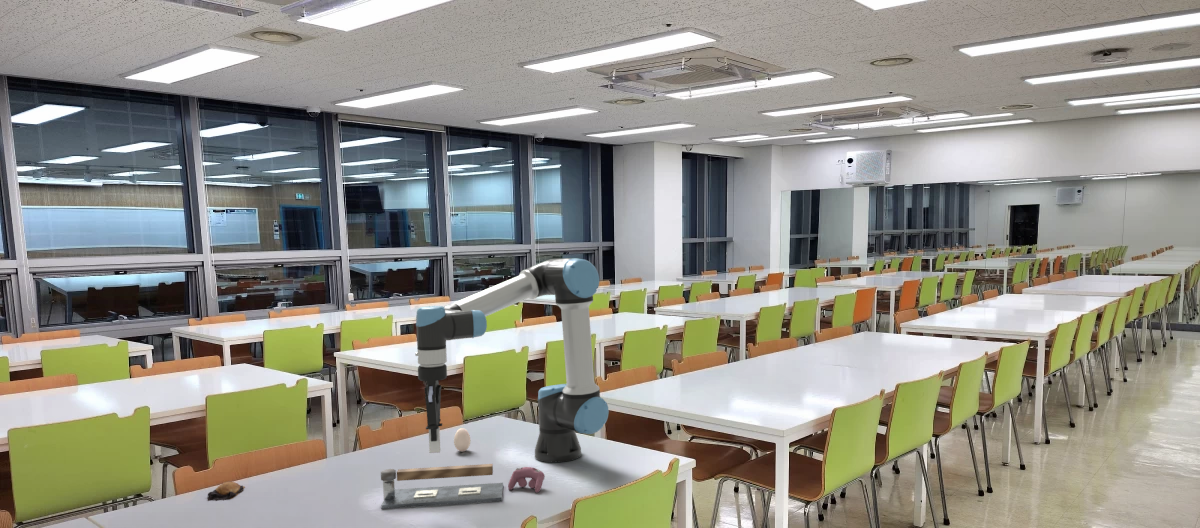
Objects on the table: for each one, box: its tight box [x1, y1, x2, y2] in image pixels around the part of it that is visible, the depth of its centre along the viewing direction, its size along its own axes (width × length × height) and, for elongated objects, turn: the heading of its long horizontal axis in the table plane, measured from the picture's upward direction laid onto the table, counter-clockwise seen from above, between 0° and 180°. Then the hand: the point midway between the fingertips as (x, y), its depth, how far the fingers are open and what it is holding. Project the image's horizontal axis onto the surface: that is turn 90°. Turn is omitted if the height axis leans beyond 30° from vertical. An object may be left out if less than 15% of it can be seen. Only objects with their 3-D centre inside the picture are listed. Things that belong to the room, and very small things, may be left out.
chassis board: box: [380, 479, 504, 510], centre depth 202 cm, size 32×12×6 cm, turn 96°
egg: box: [453, 427, 471, 453], centre depth 246 cm, size 6×6×8 cm
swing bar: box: [380, 463, 494, 482], centre depth 202 cm, size 30×4×2 cm, turn 96°
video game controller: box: [507, 466, 545, 494], centre depth 208 cm, size 10×5×7 cm, turn 71°
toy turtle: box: [206, 481, 246, 502], centre depth 211 cm, size 11×8×4 cm
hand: (434, 451), depth 195 cm, fingers closed
